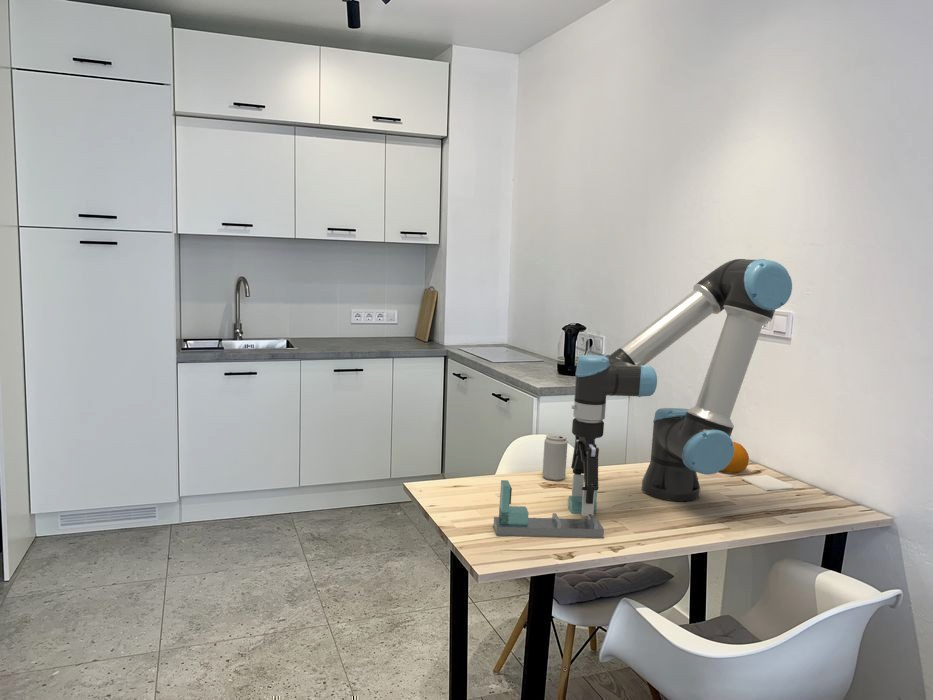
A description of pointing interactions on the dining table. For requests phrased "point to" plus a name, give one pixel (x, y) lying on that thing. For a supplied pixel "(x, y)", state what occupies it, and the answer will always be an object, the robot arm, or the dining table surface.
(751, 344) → the robot arm
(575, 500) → the teal block
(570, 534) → the rail
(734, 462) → the fruit
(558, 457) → the beverage can
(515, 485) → the dining table surface
